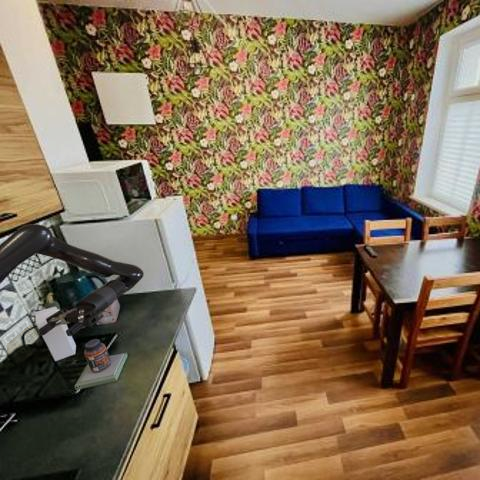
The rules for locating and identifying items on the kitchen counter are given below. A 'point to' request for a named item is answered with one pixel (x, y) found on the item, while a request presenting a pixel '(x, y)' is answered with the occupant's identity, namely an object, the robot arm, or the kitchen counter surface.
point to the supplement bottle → (97, 356)
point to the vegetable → (51, 303)
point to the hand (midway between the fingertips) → (54, 333)
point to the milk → (56, 336)
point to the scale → (102, 373)
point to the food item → (110, 314)
